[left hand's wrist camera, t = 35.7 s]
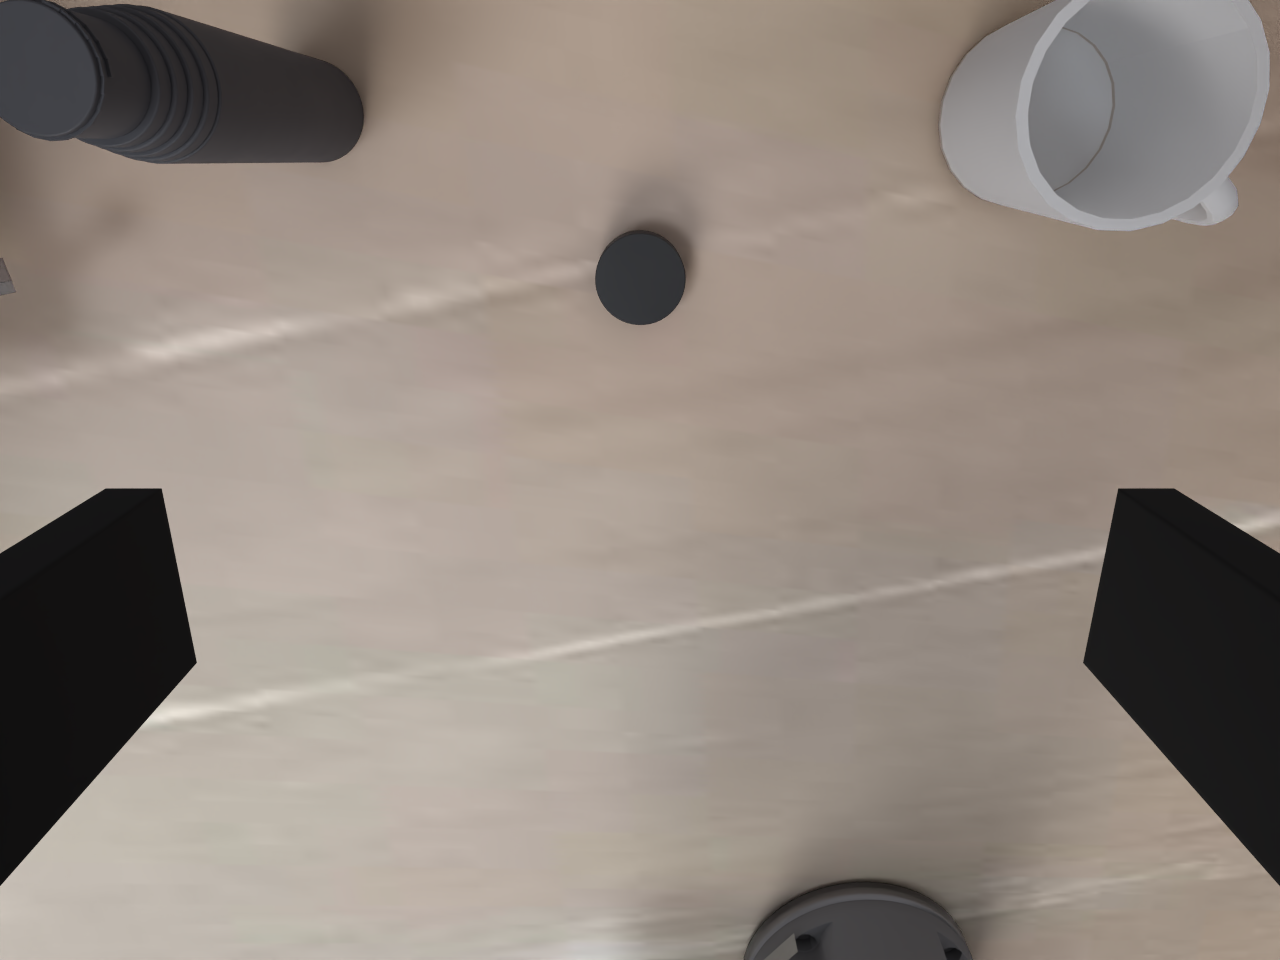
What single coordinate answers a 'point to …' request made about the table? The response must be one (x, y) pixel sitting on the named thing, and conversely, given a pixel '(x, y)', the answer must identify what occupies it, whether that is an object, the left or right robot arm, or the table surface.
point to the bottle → (168, 87)
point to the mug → (1110, 111)
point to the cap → (640, 277)
